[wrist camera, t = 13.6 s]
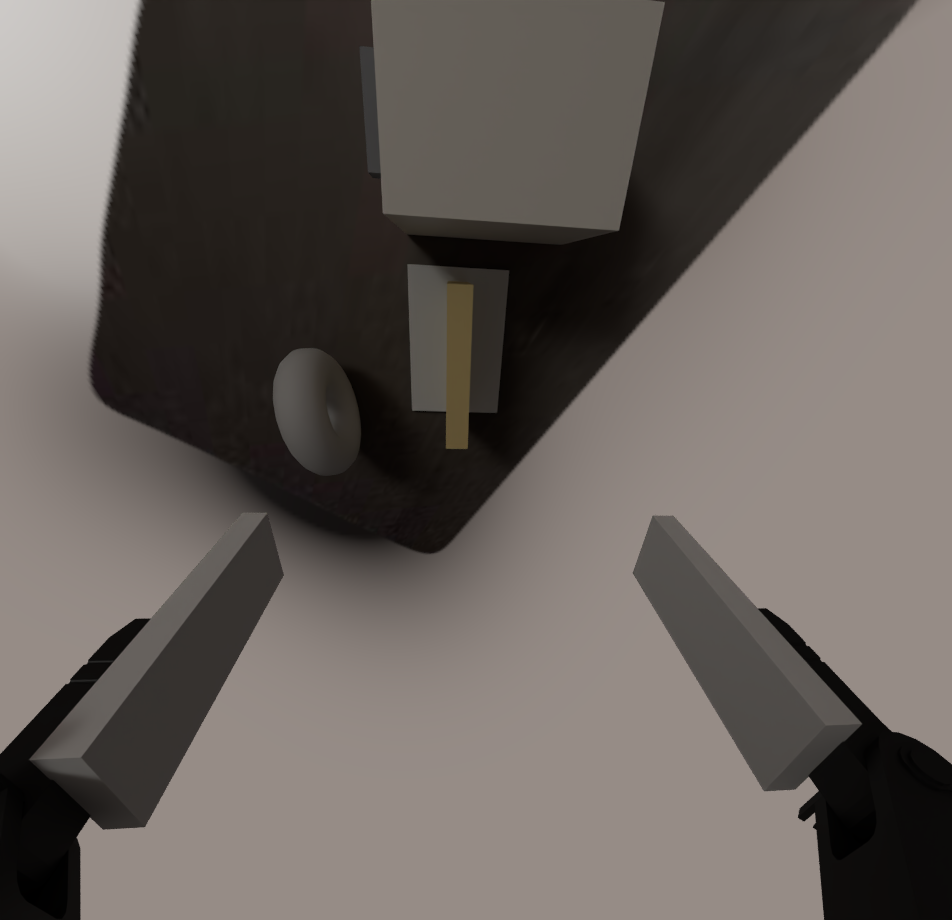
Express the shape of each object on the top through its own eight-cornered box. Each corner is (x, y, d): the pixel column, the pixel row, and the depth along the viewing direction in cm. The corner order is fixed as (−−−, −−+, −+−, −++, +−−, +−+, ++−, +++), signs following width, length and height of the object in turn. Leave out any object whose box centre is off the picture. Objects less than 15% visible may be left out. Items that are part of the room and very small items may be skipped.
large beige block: (390, 90, 24) (347, -38, 14) (580, 109, 25) (664, 2, 15) (396, 233, 27) (366, 212, 17) (561, 244, 28) (618, 230, 18)
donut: (301, 341, 30) (239, 369, 22) (340, 334, 30) (295, 359, 21) (339, 445, 35) (302, 504, 26) (374, 440, 35) (348, 496, 26)
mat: (408, 264, 28) (407, 264, 28) (508, 270, 29) (509, 270, 28) (412, 409, 34) (412, 410, 33) (496, 411, 34) (497, 413, 34)
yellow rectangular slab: (447, 411, 34) (446, 448, 27) (447, 280, 29) (447, 283, 21) (464, 411, 34) (467, 449, 27) (468, 281, 29) (473, 285, 22)
